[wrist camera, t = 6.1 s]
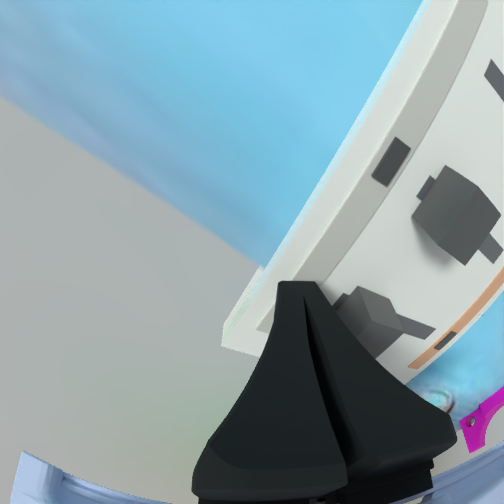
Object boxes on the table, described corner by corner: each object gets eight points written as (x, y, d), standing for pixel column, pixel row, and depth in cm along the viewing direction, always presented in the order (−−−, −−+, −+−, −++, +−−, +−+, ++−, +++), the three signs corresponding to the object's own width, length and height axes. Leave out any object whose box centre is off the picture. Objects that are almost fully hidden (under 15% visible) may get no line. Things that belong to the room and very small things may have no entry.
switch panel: (570, 134, 7) (586, 143, 6) (399, 368, 18) (405, 386, 17) (440, -49, 4) (461, -57, 2) (223, 324, 15) (221, 349, 13)
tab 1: (389, 298, 12) (404, 332, 10) (357, 332, 13) (367, 365, 11) (357, 285, 11) (371, 321, 9) (325, 322, 12) (333, 358, 11)
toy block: (529, 356, 22) (548, 394, 16) (531, 362, 24) (548, 397, 18) (453, 415, 29) (465, 454, 23) (463, 416, 31) (474, 451, 25)
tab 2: (471, 191, 9) (501, 214, 7) (440, 237, 10) (464, 266, 8) (445, 164, 8) (477, 186, 6) (411, 215, 9) (437, 245, 8)
